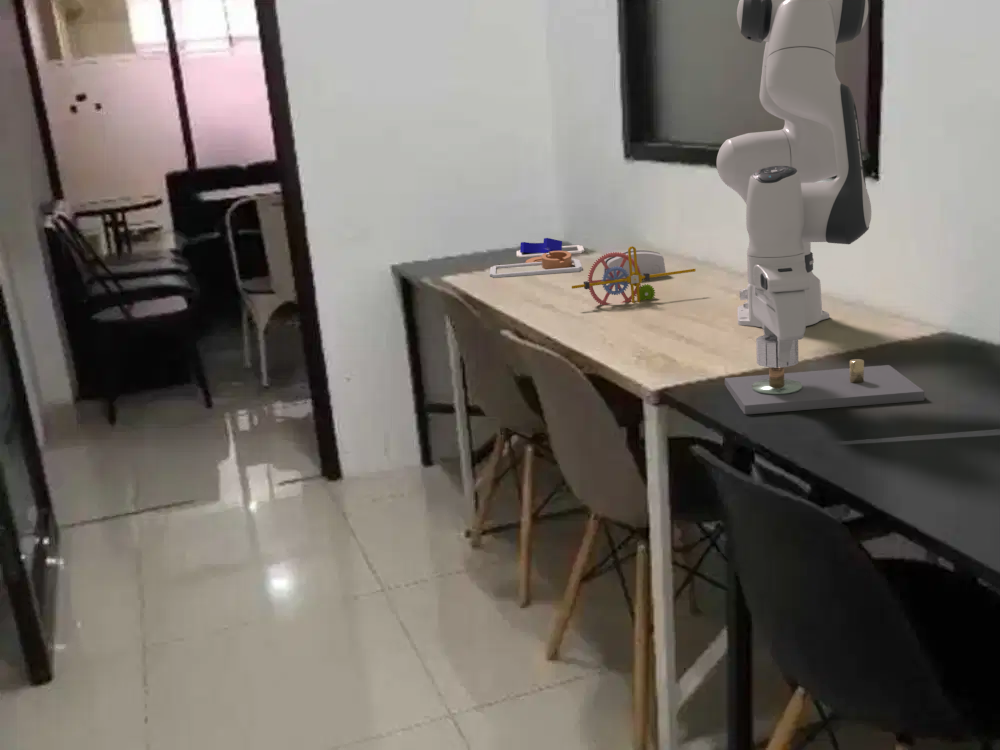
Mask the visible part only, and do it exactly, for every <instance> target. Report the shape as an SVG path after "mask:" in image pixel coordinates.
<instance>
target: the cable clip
mask: <svg viewBox="0 0 1000 750" xmlns="http://www.w3.org/2000/svg"><path fill="white" fill-rule="evenodd" d="M562 246H563V241H562V240H559V239H553V238H551V237H544V238H543V242H526V241H521V242H520V249H519V250H520V252H521V253H522V254H541V253H549V252H550V251H563V248H562Z"/></svg>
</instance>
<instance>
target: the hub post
mask: <svg viewBox="0 0 1000 750" xmlns="http://www.w3.org/2000/svg"><path fill="white" fill-rule="evenodd" d="M784 373H785V367H781V368H778V367H777V368H772V367H768V375H769V379H766V380H761V381H757V382H755V383H753V384H752V390H753V391H755V392H757V393H761V394H767V395H785V394H792V393H796V392H798V391H800V390H801V389H802V384H801V383H800V382H798V381H795V380H790V379H784Z"/></svg>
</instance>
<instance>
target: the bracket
mask: <svg viewBox="0 0 1000 750" xmlns="http://www.w3.org/2000/svg"><path fill="white" fill-rule="evenodd" d="M572 259H573V258H572V254H571V253H570V252H567V250H562V251H550V252H549V255H548V254H546V253H544V254H543V255H542V256H537V257H529V258H528V259H526V260H525V263H532V262H542V265H541V267H542V268H543V270H546V269H558V268H570V267H573V266H572V265H573V263H572Z"/></svg>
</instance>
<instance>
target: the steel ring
mask: <svg viewBox="0 0 1000 750" xmlns="http://www.w3.org/2000/svg"><path fill="white" fill-rule="evenodd" d="M755 340H756V341H755V343H756V344H755V345H756V347H755V349H756V364H758V366H761V367H764V368H769V367H772V368H777V367H778V368H781V367H784V368H789V367H793V366H796V365H797V364H798V363H799V340H793V343H792V347H791V351H790V361H788V362H780V361H779V360H778V359H777V350H778V341H777V336H776V335H775V334H768V335H760V336H757V337H756V339H755Z"/></svg>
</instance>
